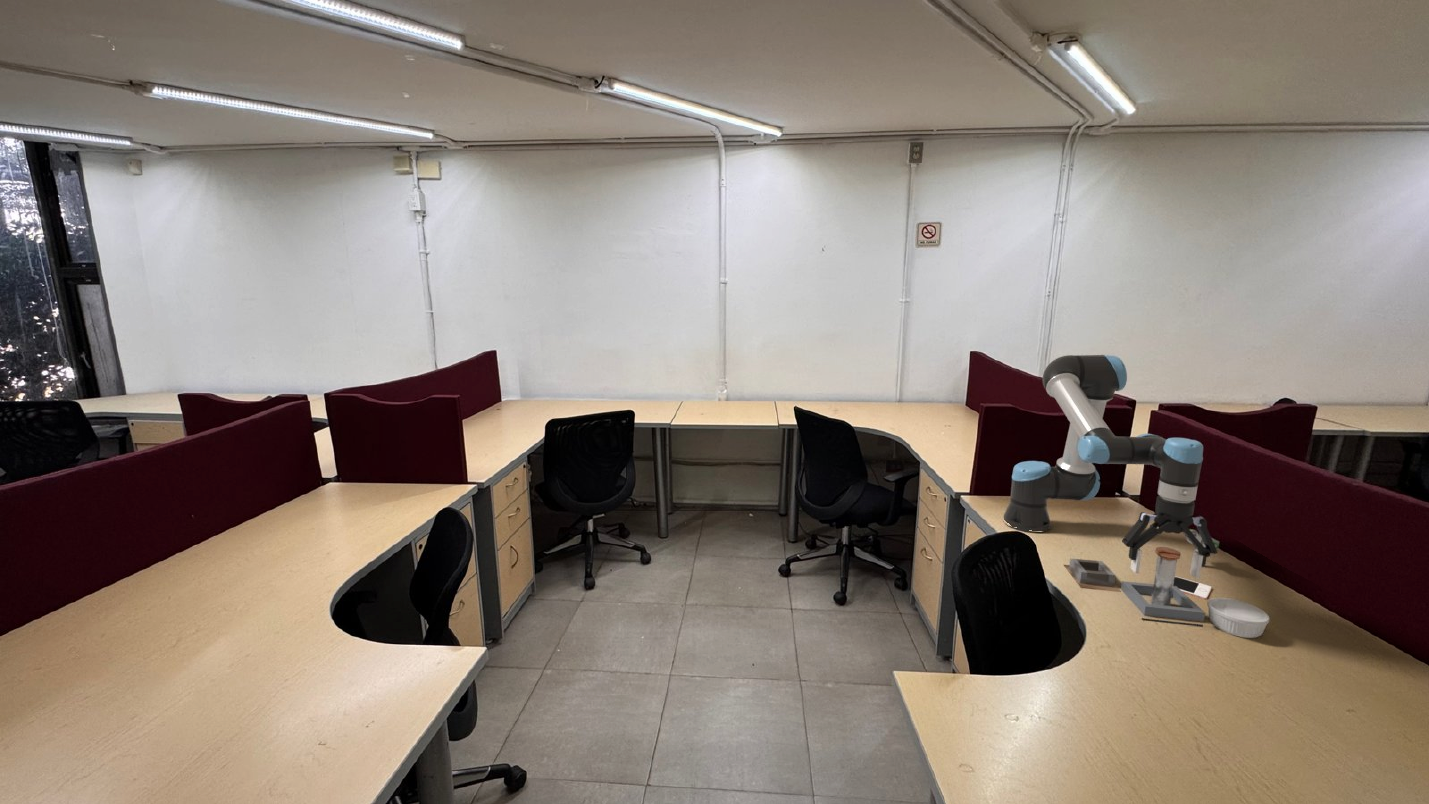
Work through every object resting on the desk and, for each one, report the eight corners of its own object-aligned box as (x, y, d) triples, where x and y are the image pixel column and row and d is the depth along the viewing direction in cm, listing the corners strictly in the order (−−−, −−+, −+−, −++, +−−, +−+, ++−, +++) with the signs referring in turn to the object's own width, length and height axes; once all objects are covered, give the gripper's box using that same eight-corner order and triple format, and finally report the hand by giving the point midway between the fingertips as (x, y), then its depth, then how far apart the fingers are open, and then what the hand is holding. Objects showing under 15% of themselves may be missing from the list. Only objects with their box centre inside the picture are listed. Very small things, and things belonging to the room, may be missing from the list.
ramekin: (1194, 613, 144) (1197, 595, 143) (1243, 617, 141) (1247, 599, 140) (1224, 639, 133) (1227, 619, 132) (1278, 643, 131) (1282, 624, 130)
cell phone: (1206, 601, 150) (1206, 597, 149) (1126, 576, 163) (1127, 573, 163) (1211, 589, 155) (1212, 586, 155) (1134, 567, 169) (1134, 564, 168)
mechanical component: (1190, 557, 173) (1195, 528, 171) (1216, 573, 163) (1222, 543, 161) (1180, 557, 173) (1185, 528, 171) (1206, 573, 163) (1211, 542, 161)
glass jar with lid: (1144, 600, 148) (1152, 546, 145) (1165, 602, 147) (1174, 547, 144) (1153, 610, 143) (1162, 554, 140) (1176, 612, 142) (1185, 556, 139)
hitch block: (1062, 569, 168) (1064, 554, 167) (1099, 572, 165) (1101, 557, 164) (1080, 592, 154) (1082, 576, 153) (1120, 596, 152) (1122, 580, 151)
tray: (1120, 594, 153) (1122, 581, 152) (1174, 599, 150) (1176, 586, 149) (1143, 620, 141) (1145, 606, 140) (1202, 626, 138) (1205, 612, 137)
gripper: (1126, 500, 139) (1116, 575, 143) (1244, 507, 133) (1229, 586, 137) (1113, 489, 146) (1104, 561, 150) (1224, 496, 140) (1211, 571, 144)
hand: (1164, 573), depth 144 cm, fingers open, 13 cm apart
